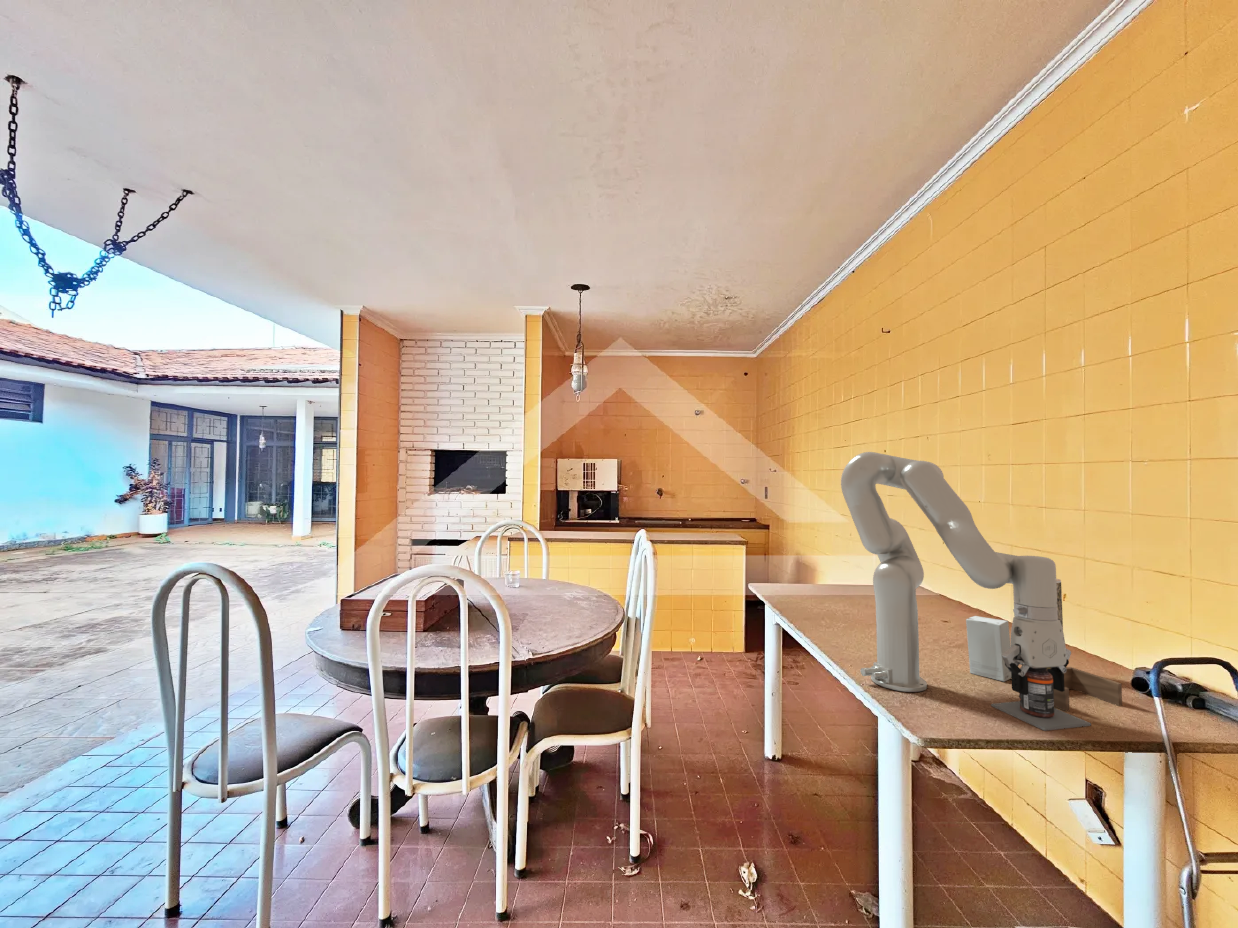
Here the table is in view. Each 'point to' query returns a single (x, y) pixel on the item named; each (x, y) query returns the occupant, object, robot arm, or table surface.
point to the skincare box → (988, 647)
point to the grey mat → (1052, 723)
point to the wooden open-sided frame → (1087, 688)
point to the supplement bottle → (1038, 693)
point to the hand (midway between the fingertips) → (1038, 690)
